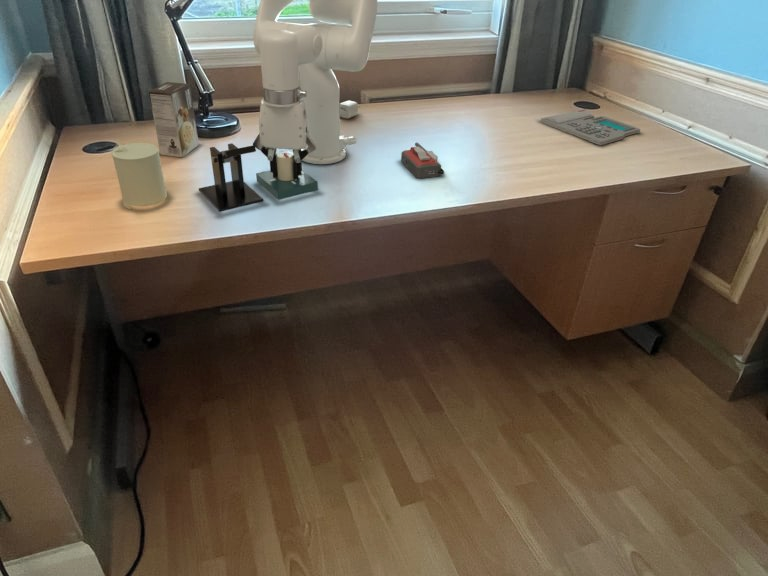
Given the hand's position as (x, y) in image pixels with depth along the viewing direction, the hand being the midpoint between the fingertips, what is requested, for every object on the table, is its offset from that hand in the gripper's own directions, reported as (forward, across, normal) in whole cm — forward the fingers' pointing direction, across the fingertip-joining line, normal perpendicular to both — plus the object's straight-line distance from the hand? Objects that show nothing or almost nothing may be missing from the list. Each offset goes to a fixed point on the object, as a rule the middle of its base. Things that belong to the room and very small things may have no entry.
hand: (286, 175), depth 132 cm
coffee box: (+4, +32, -19) cm, 38 cm away
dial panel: (+4, 0, 0) cm, 4 cm away
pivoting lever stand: (+4, +11, +7) cm, 14 cm away
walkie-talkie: (+4, -30, -21) cm, 36 cm away
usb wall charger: (+4, -7, -55) cm, 56 cm away
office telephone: (+4, -81, -58) cm, 99 cm away
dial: (0, 0, 0) cm, 0 cm away
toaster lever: (-7, +8, +11) cm, 15 cm away
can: (+4, +29, +11) cm, 31 cm away
